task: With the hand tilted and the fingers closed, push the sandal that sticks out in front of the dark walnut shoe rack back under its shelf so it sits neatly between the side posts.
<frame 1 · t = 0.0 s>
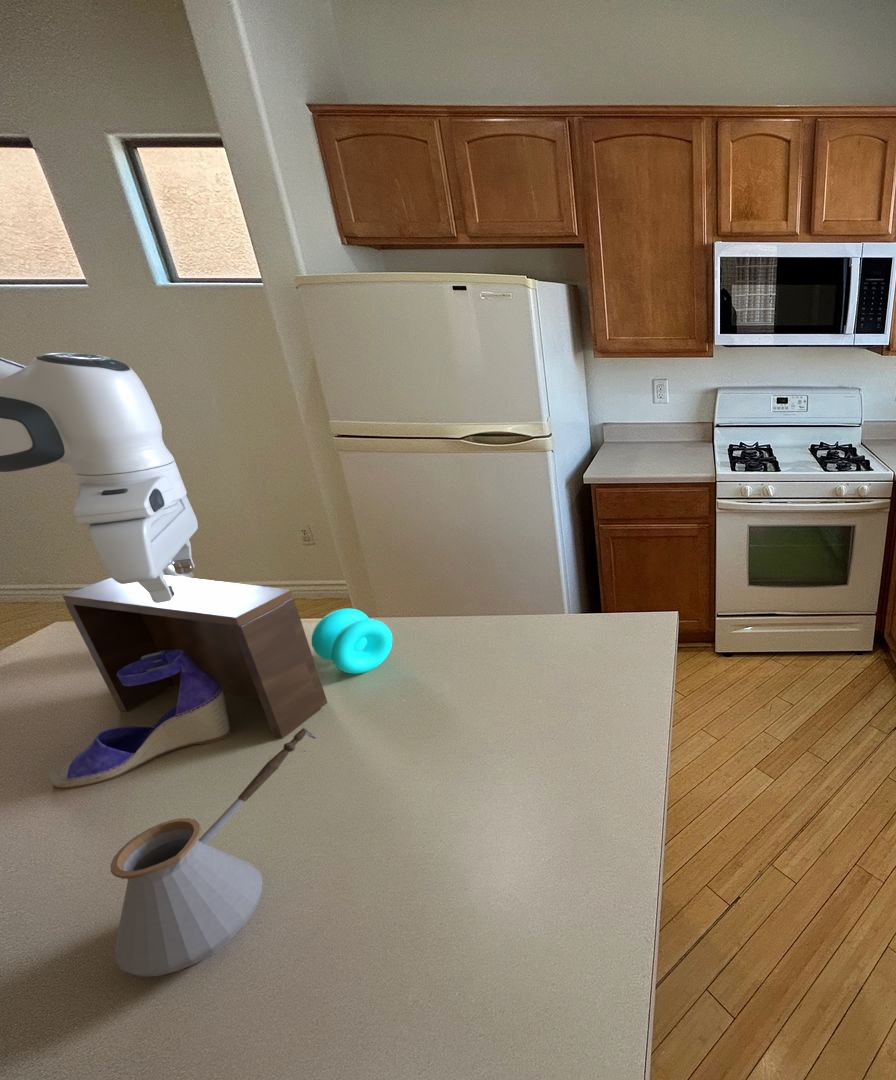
hand: (176, 585, 75), 26 cm above the counter, tool pointing down, fingers open, 8 cm apart
shoe rack: (246, 693, 94), on the counter
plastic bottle: (199, 648, 107), on the counter
coffee pot: (253, 890, 63), on the counter
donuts: (359, 663, 103), on the counter
sandal: (151, 756, 81), on the counter
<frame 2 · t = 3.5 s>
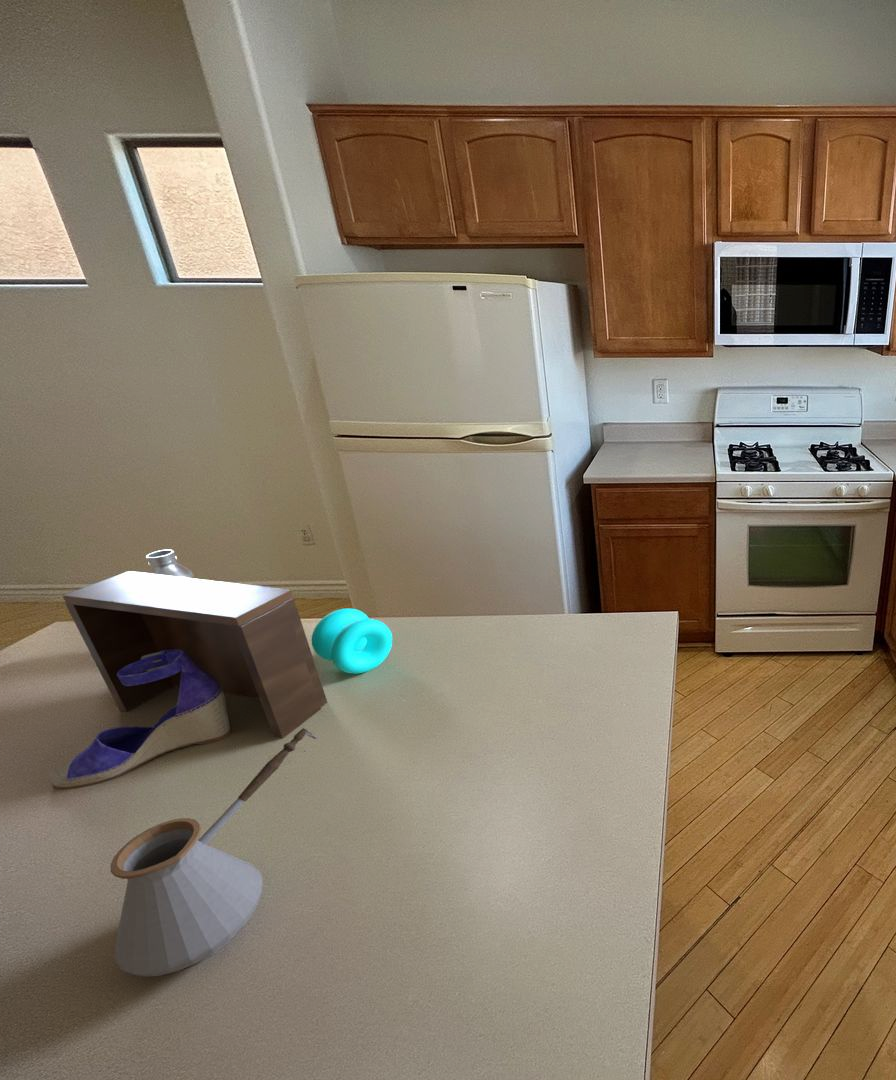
nothing on the counter moved.
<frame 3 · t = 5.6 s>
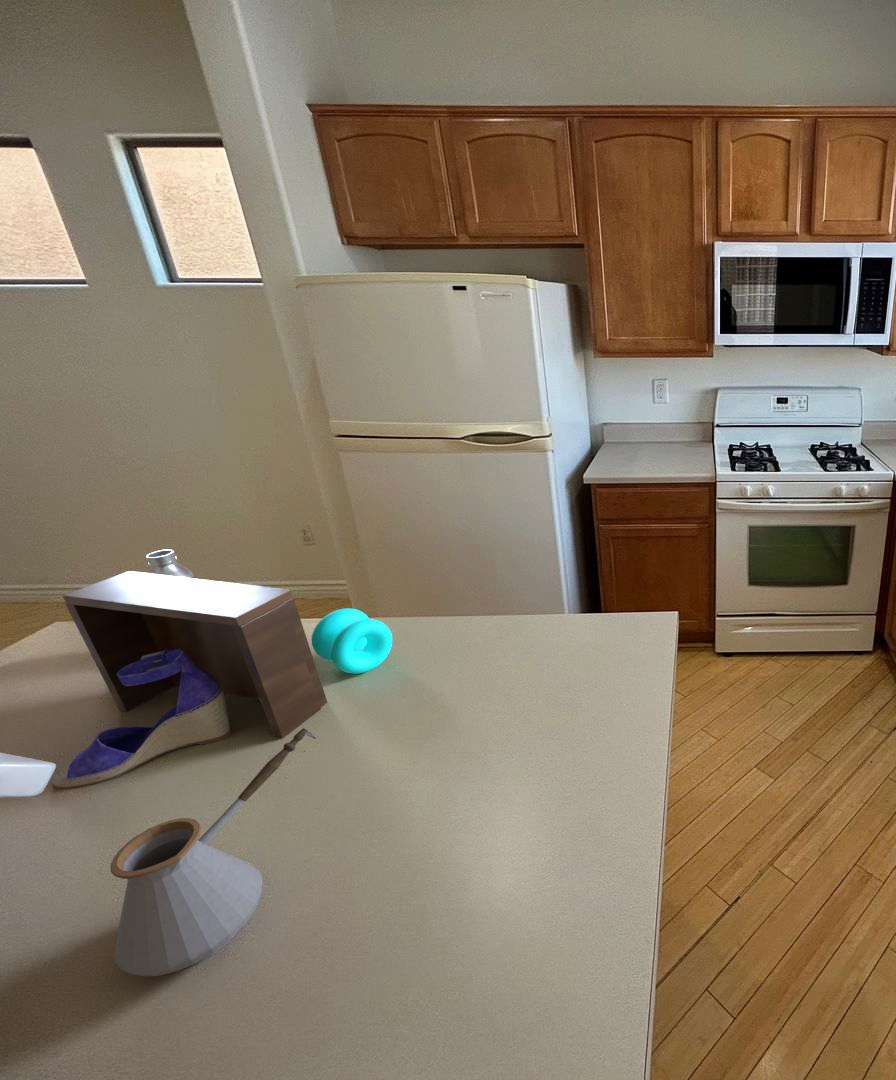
hand: (38, 767, 69), 8 cm above the counter, tool tilted 45°, fingers closed
nothing on the counter moved.
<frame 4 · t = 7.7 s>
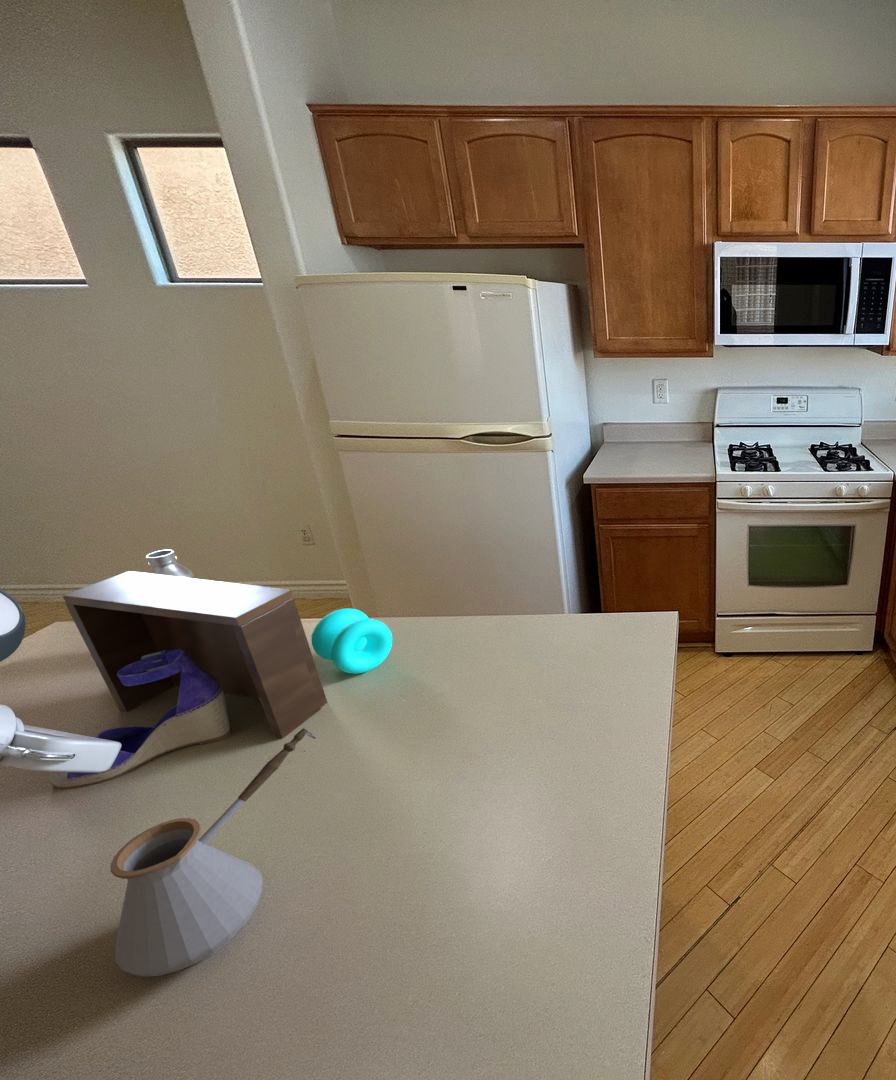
hand: (100, 747, 75), 5 cm above the counter, tool tilted 45°, fingers closed
sandal: (151, 756, 81), on the counter, touching gripper
everything else where it was.
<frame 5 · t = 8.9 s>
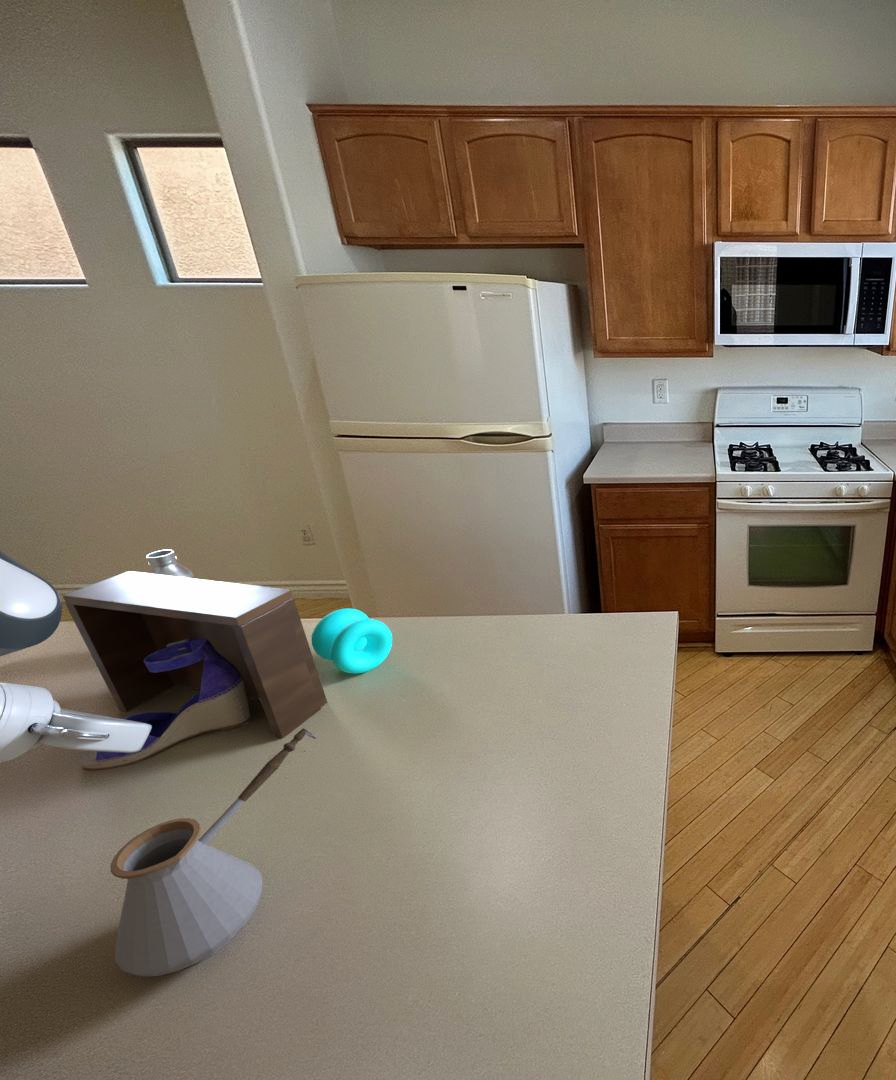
hand: (129, 730, 78), 5 cm above the counter, tool tilted 45°, fingers closed
sandal: (175, 740, 84), on the counter, touching gripper
everything else where it was.
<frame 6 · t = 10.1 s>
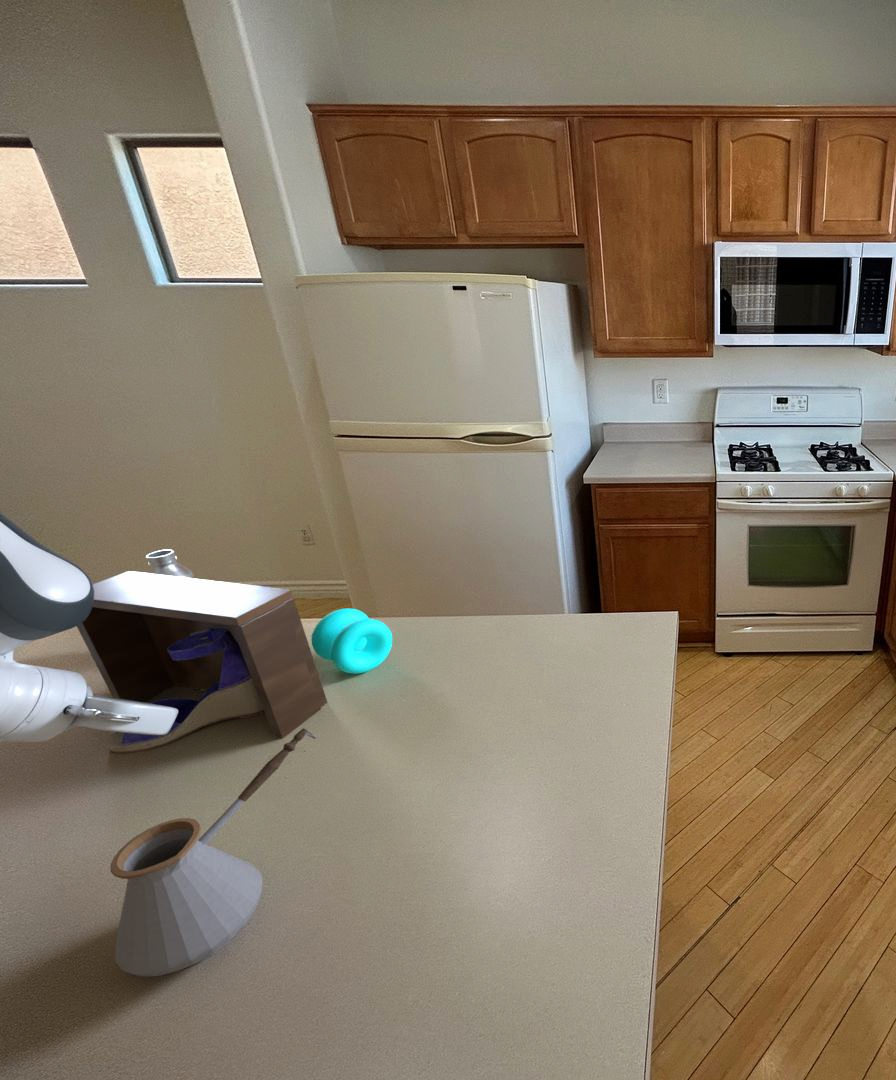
hand: (155, 716, 81), 5 cm above the counter, tool tilted 45°, fingers closed
sandal: (196, 727, 87), on the counter, touching gripper, shoe rack
everything else where it was.
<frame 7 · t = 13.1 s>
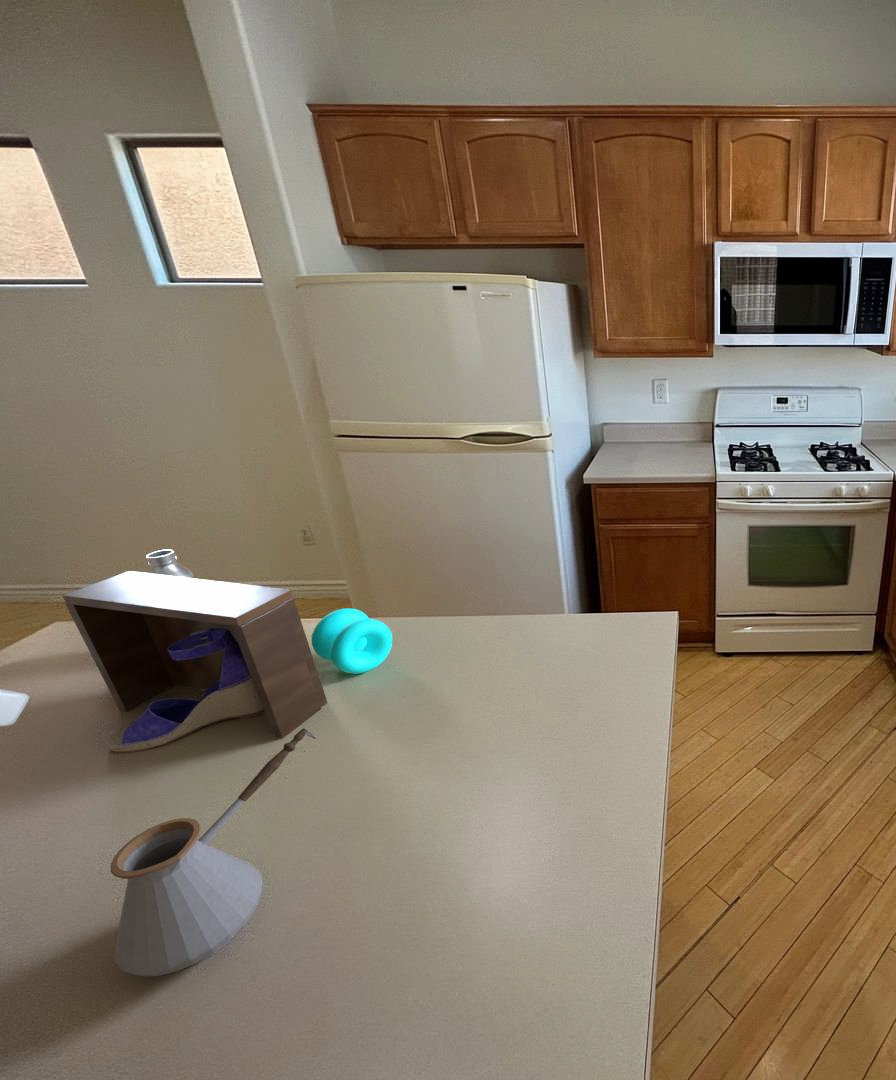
hand: (12, 703, 67), 17 cm above the counter, tool tilted 45°, fingers closed
sandal: (196, 726, 87), on the counter, touching shoe rack
everything else where it was.
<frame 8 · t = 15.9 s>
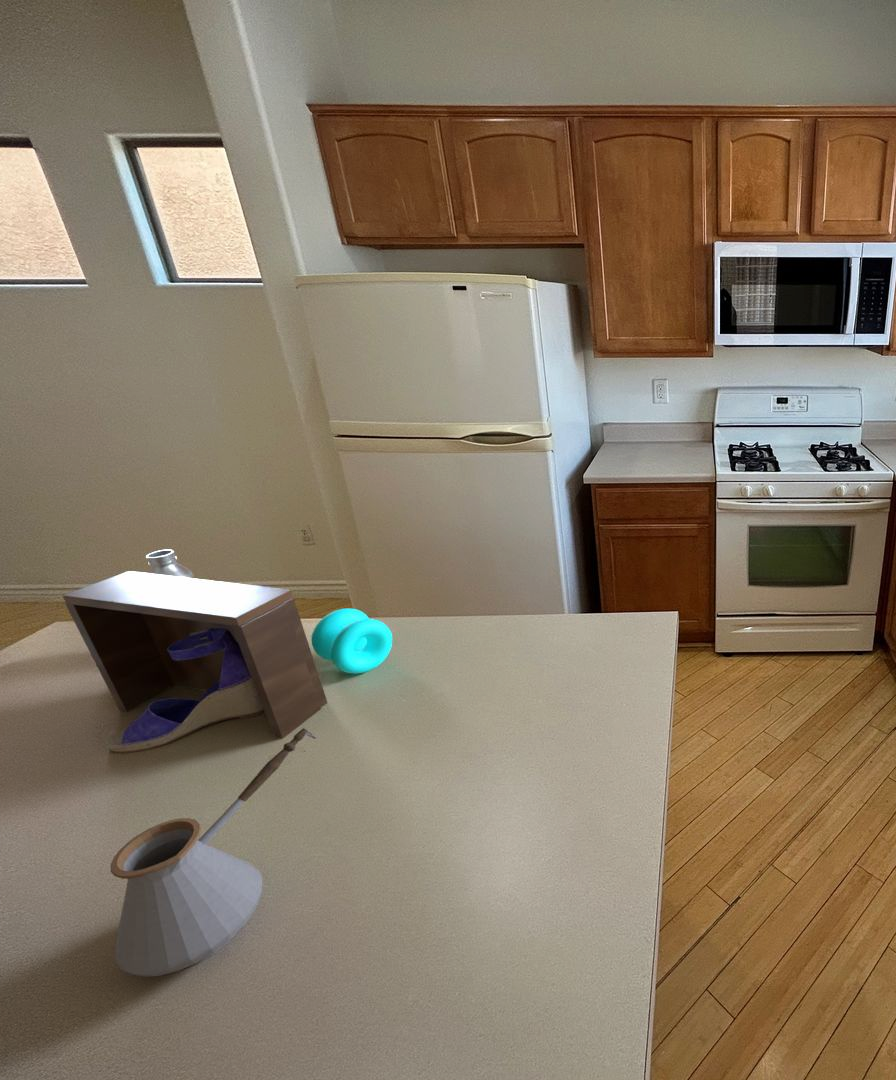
nothing on the counter moved.
at the end: sandal inside the target area (1.7 cm from its centre), on the counter; sandal tilted 0°; sandal moved 6.3 cm from its start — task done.
